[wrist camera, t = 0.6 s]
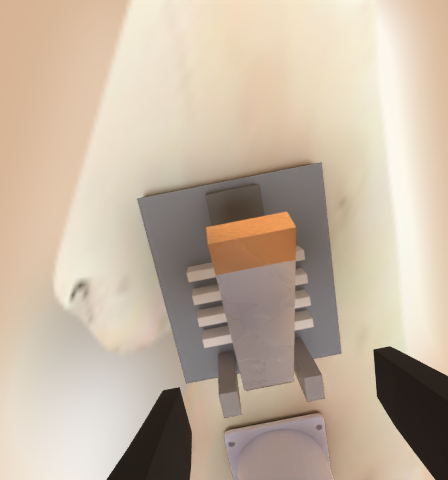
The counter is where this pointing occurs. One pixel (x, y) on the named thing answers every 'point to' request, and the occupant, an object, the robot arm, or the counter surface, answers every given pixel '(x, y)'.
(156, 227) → the heatsink base
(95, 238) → the counter surface
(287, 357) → the orange-ended grey bar
